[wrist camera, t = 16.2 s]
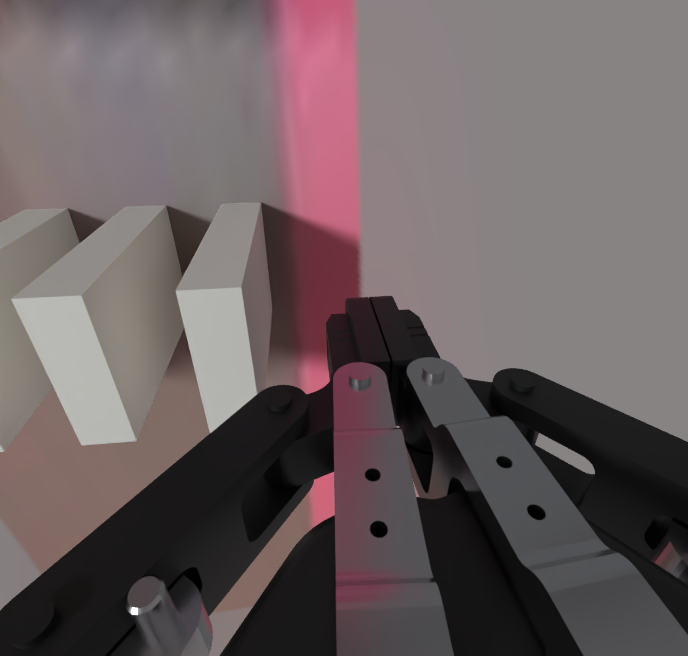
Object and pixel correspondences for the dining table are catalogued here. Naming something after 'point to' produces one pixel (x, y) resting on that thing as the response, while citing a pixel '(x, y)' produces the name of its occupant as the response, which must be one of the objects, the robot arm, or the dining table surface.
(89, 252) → the domino
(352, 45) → the dining table surface
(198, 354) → the domino
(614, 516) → the robot arm
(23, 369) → the domino
